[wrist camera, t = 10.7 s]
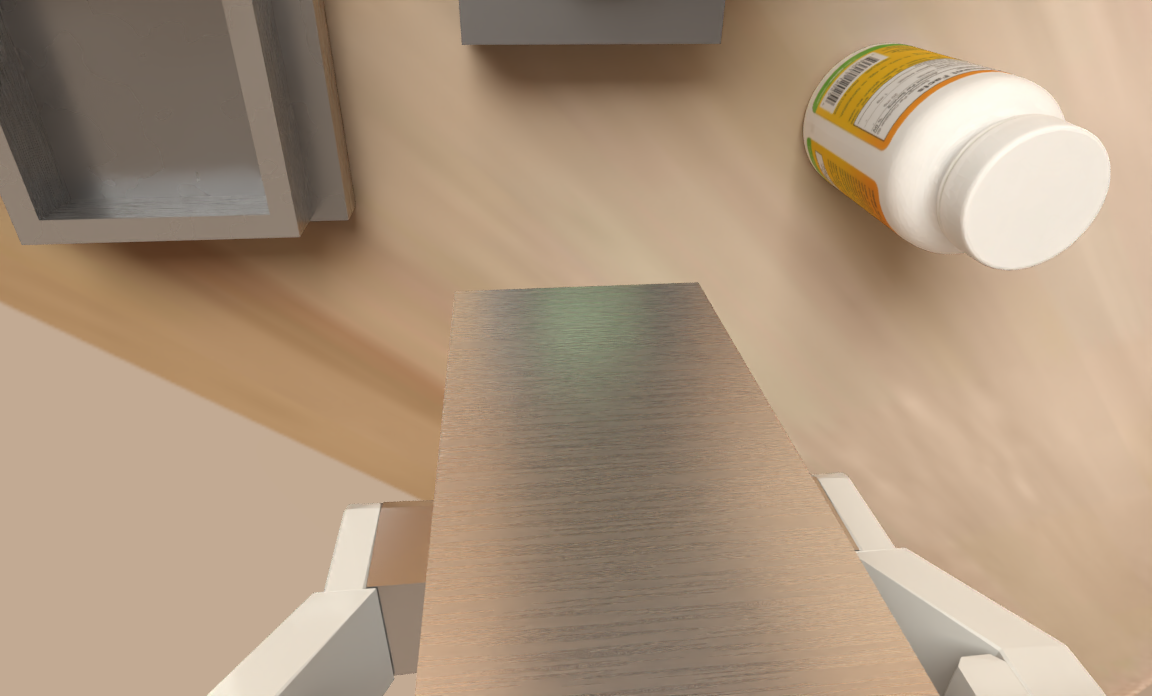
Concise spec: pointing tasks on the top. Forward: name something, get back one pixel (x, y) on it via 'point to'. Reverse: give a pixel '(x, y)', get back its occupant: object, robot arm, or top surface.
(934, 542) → the top surface
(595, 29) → the grey square frame
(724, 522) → the billet
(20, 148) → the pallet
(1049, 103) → the supplement bottle
